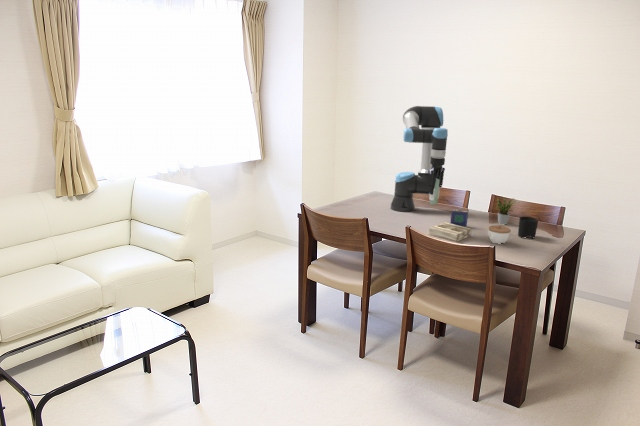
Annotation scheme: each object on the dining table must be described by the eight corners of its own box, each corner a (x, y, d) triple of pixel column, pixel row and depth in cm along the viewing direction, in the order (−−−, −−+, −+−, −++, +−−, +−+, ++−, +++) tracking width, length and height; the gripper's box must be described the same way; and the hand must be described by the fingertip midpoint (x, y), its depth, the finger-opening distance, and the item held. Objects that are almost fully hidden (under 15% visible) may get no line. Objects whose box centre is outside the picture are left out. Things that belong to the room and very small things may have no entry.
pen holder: (514, 236, 278) (516, 218, 276) (521, 232, 285) (523, 215, 282) (531, 240, 272) (534, 222, 270) (538, 236, 279) (541, 219, 276)
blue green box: (466, 226, 294) (468, 208, 291) (466, 227, 291) (468, 209, 289) (450, 224, 297) (452, 206, 294) (450, 225, 294) (451, 207, 291)
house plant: (518, 222, 305) (522, 195, 301) (516, 228, 293) (520, 200, 288) (493, 218, 311) (497, 192, 306) (490, 224, 299) (494, 197, 294)
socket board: (444, 229, 287) (445, 222, 286) (470, 235, 276) (471, 228, 275) (429, 234, 276) (429, 227, 275) (455, 242, 265) (456, 234, 264)
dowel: (432, 202, 285) (434, 177, 281) (438, 203, 282) (441, 179, 279) (428, 203, 282) (430, 178, 278) (434, 205, 280) (437, 180, 276)
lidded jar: (483, 239, 272) (486, 222, 269) (503, 239, 273) (505, 222, 270) (492, 245, 262) (494, 228, 259) (512, 245, 263) (514, 228, 260)
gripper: (435, 159, 267) (431, 203, 273) (452, 156, 279) (447, 198, 285) (423, 157, 272) (419, 200, 278) (440, 154, 284) (436, 195, 290)
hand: (433, 199), depth 282 cm, fingers closed on dowel, 4 cm apart
